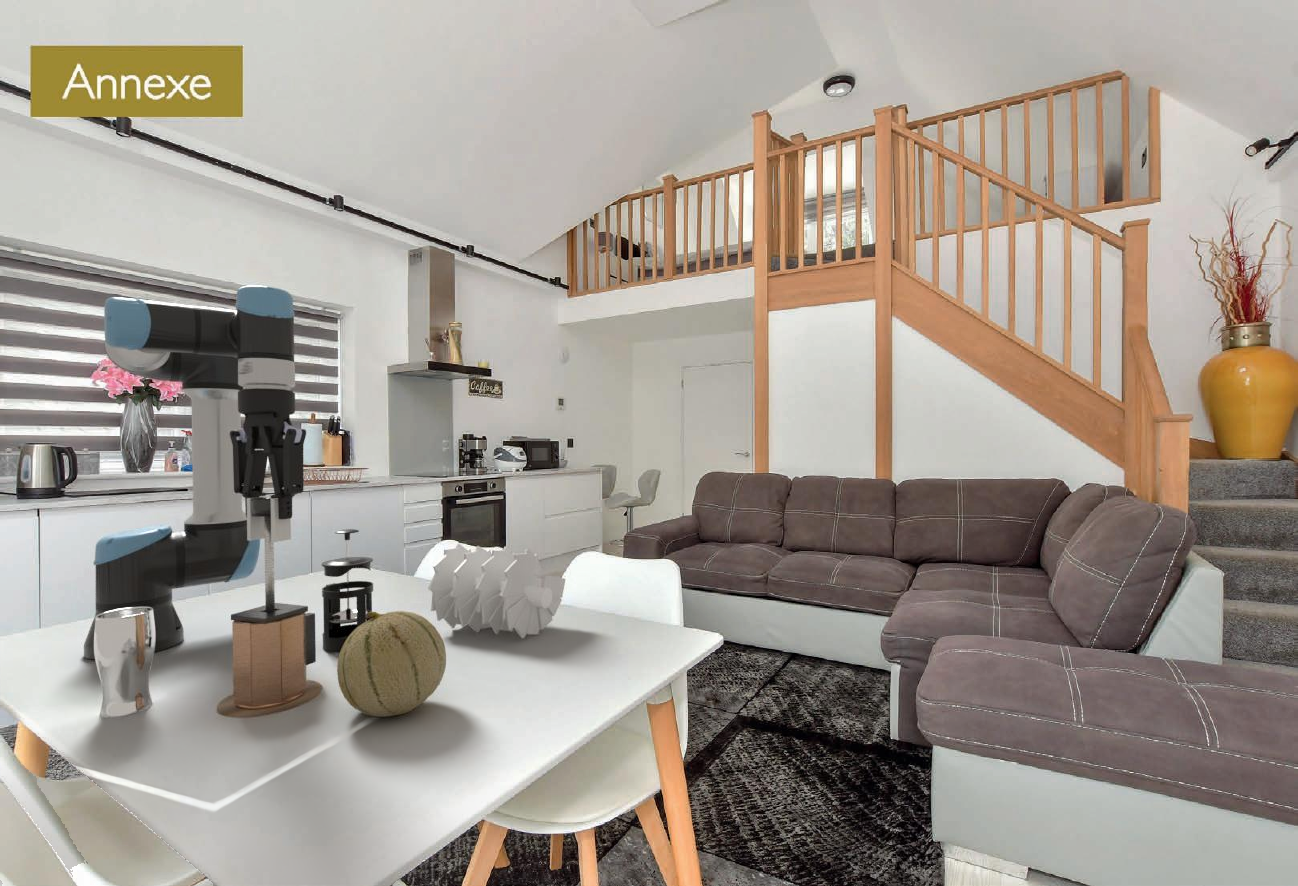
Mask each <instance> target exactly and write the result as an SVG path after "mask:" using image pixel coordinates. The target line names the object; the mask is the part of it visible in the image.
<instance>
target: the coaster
mask: <svg viewBox="0 0 1298 886" xmlns="http://www.w3.org/2000/svg"><path fill="white" fill-rule="evenodd" d="M323 689H324V686H323V685H322V683H321V682H319V681H316V680H312V679H307V684H306V692H305V693H304V695H303V696H301V697H300V698H298V699H296V700H294V701H292V702H290V703H287V704H284V705H281V706H277V707H273V708H267V709H260V710H244V709H240V708H238V707H236V704H234V696H233V693H231V695H228V696H227V697H225V698H223V699H222V700H221V701H219V702H218V704H217V705H216V708H215V710H216V713H217V714H219V715H220V716H224V717H227V718H234V719H235V718H236V719H237V718H238V719H241V718H242V719H245V718H257V717H263V716H264V717H265V716H269V715H273V714H278V713H282V712H286V711H288V710H292V709H294V708H298V707H300V706H303V705H305V704H307V703H309V702H311V701H312V700H314V699H316V698H317V697H318V696H319V695H320V694H321V693H322V692H323Z"/></svg>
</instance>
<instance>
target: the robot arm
mask: <svg viewBox="0 0 1298 886" xmlns="http://www.w3.org/2000/svg"><path fill="white" fill-rule="evenodd" d="M235 300H236V301H235V302H236V303H234V308H235V309H225V308H217V307H216V308H215V307H208V306H198V305H187V304H178V303H172V302H165V301H164V302H163V301H155V300H147V299H141V298H139V297H129V298H127V297H117V296H111V297H109V298H106V300H105V302H104V312H103V313H104V314H103V315H104V317H103V319H104V322H103V323H104V324H103V325H104V338H105V339H104V344H103V345H104V351H105V354H106V356H107V357H108V359H109V360H110V361H111V362H112V363H113V364H114V365H115V366H116V367H118V368H119V369H121V370H123V371H125V372H127V373H130V374H133V375H135V376H139V377H141V378H146V379H149V380H154V381H161V382H173V383H174V382H176V383H181V388H182V389H181V390H182V393H184V394H185V395H186V396H187V397H188V398H190V401H191V443H192V444H191V445H192V446H191V447H192V449H191V450H192V451H191V452H192V453H191V455H192V514H191V515H190V516H188V517H187V518H186V519H185V520H184V523H183V529H184V530H179V531H173V528H172V526H171V525H168V524H162V525H154V526H153V525H152V526H145V527H140V528H135V529H133V528H132V529H129V530H124V531H121V532H120V531H119V532H116V533H112V534H109V535H105V536H104V537H102V538H100V539H99V540H98V541H97V542H96V545H95V551H94V552H95V553H94V554H95V555H94V561H93V563H92V564H93V566H95V614H94V618H93V620H92V622H91V624H90V625H91V626H90V627H89V630H88V632H87V636H86V637H85V641H84V644H83V657H84V658H85V659H88V660H94V661H95V656H94V631H95V620H96V618H95V617H96V616H97V615H99V614H101V613H104V612H108V611H112V610H117V609H122V608H130V607H152V608H153V614H154V621H155V634H156V638H155V650H154V653H156V652H159V651H162V650H166V649H169V648H171V647H173V646H176V645H178V644H180V643H182V642H183V640H184V635H185V634H184V633H185V632H184V626H183V624H182V621H181V620H180V617H179V615H178V612H177V610H176V608H175V606H174V603H173V590H175V589H180V588H181V589H182V588H188V587H189V588H190V587H194V586H195V587H196V586H202V585H209V584H216V583H217V584H218V583H225V584H226V583H230V582H231V581H237V580H243V579H246V578H248V577H250V576H251V575H252V574H253V573H254V571H255V569H256V567H257V564H258V561H259V556H260V548H261V540H265V535H264V516H263V517H254V516H252V499H253V498H262V497H266V495H267V492H264V491H263V490H264V486H265V485H264V483H265V477H266V470H267V464H268V463H269V470H270V475H271V480H272V488H273V491H274V492H273V493H274V494H272V495H270V497H271V498H272V499H271V542H274V543H276V542H278V543H279V542H284V541H288V540H291V539H292V535H291V534H292V533H291V532H292V531H291V529H292V525H291V523H292V521H291V519H292V517H293V497H294V496H296V495H298V494H302V493H303V492H304V444H305V440H306V437H307V430H306V429H304V428H296V427H294V426H293V424H292V421H291V418H290V415H294V414H295V413H296V393H295V392H294V390H291V389H292V388H295V387H296V372H295V371H296V366H295V317H296V313H295V310H294V308H295V307H294V298H293V296H292V294H291V293H290V292H288V291H287V290H285V289H281V288H278V287H272V286H265V285H245V286H241V287H240V288H238V289H237V290H236V299H235ZM241 414H242V415H243V416H244V422H243V425H241V423H242V422H241V421H242V419H241V417H242V415H241ZM243 498H245V499H244V501H245V502H244V503H245V511H244V510H243Z"/></svg>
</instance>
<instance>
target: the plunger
mask: <svg viewBox="0 0 1298 886" xmlns="http://www.w3.org/2000/svg"><path fill="white" fill-rule="evenodd" d="M261 497H262V498H253V499H252V516H254V517H263V516H264V535H265V538H264V582H265V584H264V586H265V587H264V589H265V591H264V593H265V595H264V596H265V597H264V598H265V605H266V612H268V613H269V612H273V611H275V603H276V601H275V599H276V597H275V596H276V595H275V590H276V589H275V542H271V499H272V498H271V496H261Z"/></svg>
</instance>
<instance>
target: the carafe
mask: <svg viewBox="0 0 1298 886" xmlns="http://www.w3.org/2000/svg"><path fill="white" fill-rule="evenodd" d="M230 621H232V622H231V623H232V630H231V631H232V685H233V690H232V691H233V693H232V694H233V696H234V704H236V707H238V708H240V709H244V710H260V709H267V708H273V707H277V706H281V705H284V704H287V703H290V702H292V701H294V700H296V699H298V698H300V697H301V696H303V695H304V693H305V692H306V684H307V680H308V679H307V666H308V665H310V664H314V663H315V662H317V661H316V660H317V659H316V656H317V655H316V654H317V653H316V652H317V651H316V646H317V645H316V613H315V612H309V606H308V605H300V604H289V603H281V602H275V611H273V612H269V613H268V612H266V604H265V605H261V606H258V607H254V608H251V609H247V610H243V611H239V612H236V613H232V614H230Z"/></svg>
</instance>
